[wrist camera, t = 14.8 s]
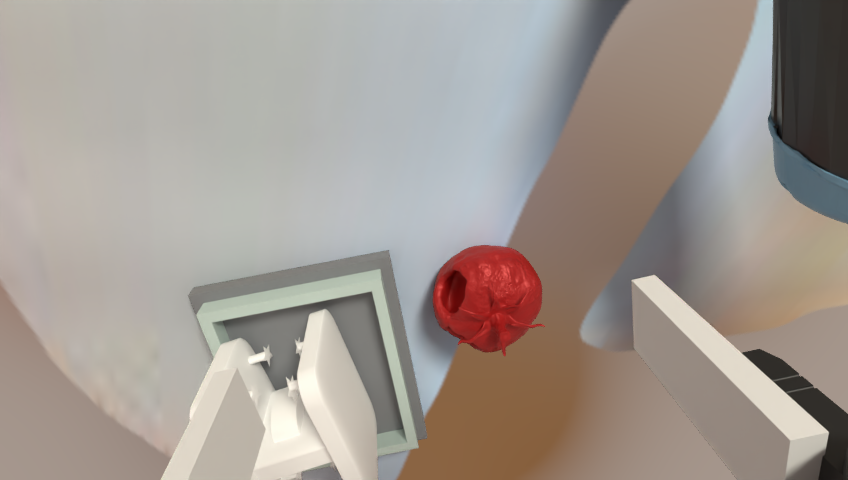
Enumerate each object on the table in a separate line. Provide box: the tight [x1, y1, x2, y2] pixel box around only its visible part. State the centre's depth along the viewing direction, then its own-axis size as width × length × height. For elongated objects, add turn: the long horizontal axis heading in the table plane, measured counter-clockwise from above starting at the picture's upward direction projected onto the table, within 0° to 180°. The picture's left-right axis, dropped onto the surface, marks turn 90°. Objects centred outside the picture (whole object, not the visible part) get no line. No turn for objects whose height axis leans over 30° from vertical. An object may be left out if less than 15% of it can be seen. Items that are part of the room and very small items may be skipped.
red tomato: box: [433, 245, 545, 356], centre depth 42 cm, size 10×10×9 cm
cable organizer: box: [190, 309, 378, 480], centre depth 42 cm, size 15×11×12 cm
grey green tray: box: [188, 250, 427, 472], centre depth 47 cm, size 18×22×4 cm
